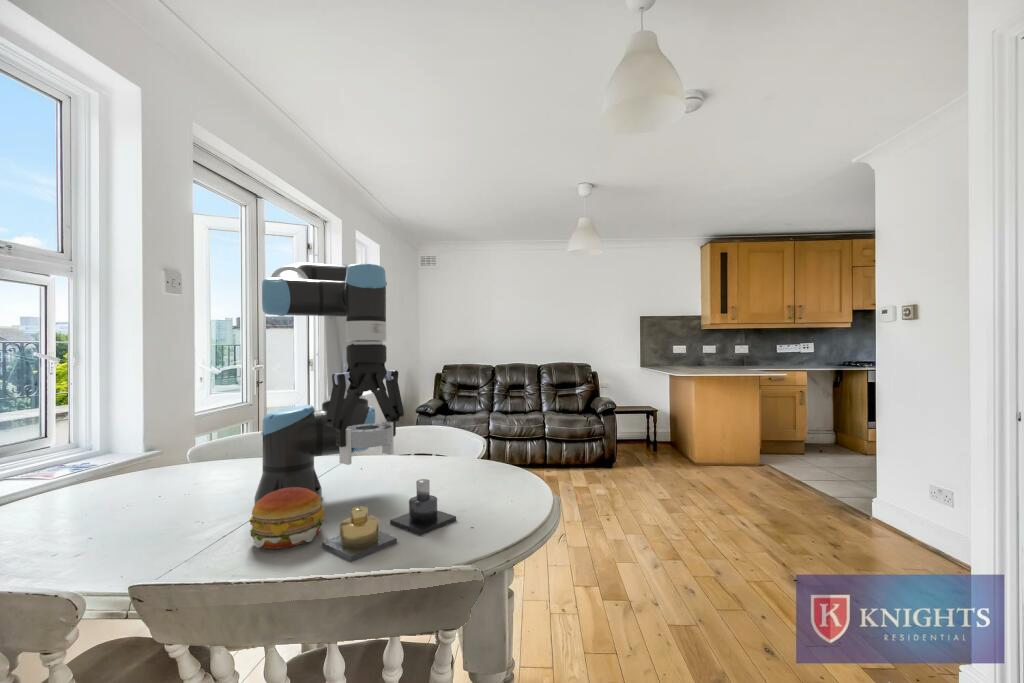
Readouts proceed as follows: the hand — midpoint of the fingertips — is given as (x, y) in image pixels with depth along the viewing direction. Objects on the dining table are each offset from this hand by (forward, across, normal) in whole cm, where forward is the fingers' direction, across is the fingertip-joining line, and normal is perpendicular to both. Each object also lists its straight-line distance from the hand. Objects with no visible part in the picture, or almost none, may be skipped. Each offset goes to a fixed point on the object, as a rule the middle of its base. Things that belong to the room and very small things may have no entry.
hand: (367, 458), depth 90 cm
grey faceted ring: (-3, 0, 0) cm, 3 cm away
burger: (+17, -8, +14) cm, 24 cm away
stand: (+16, +13, -1) cm, 21 cm away
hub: (+16, -2, 0) cm, 16 cm away
